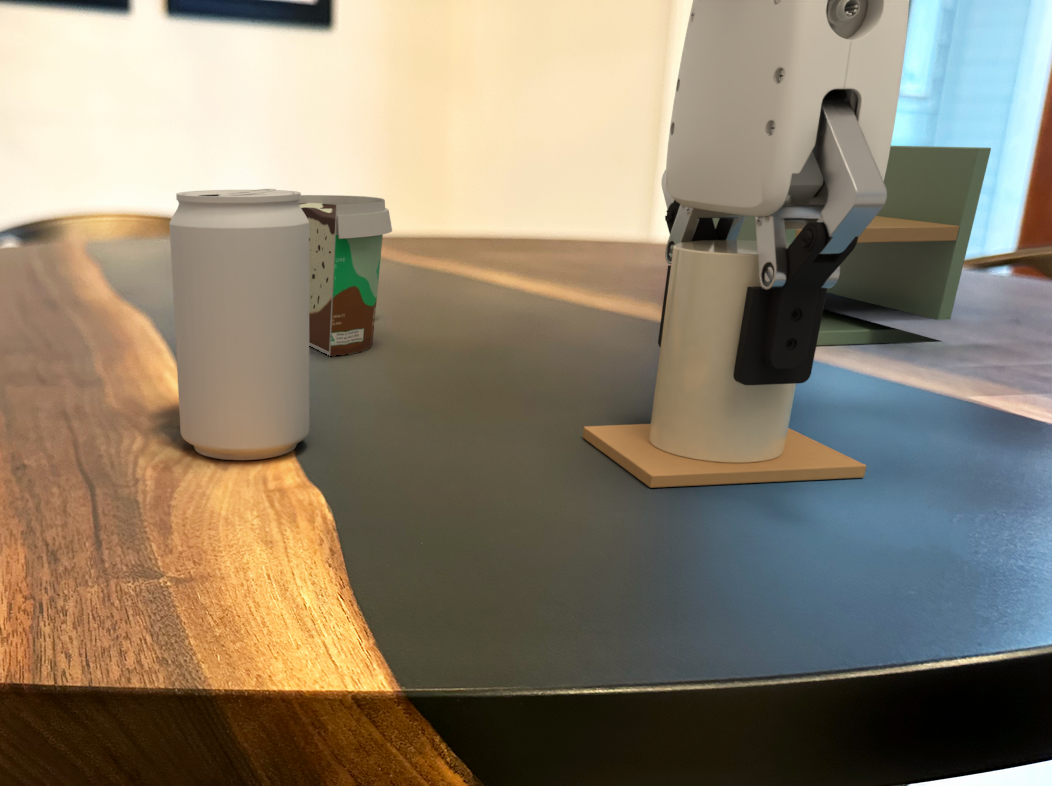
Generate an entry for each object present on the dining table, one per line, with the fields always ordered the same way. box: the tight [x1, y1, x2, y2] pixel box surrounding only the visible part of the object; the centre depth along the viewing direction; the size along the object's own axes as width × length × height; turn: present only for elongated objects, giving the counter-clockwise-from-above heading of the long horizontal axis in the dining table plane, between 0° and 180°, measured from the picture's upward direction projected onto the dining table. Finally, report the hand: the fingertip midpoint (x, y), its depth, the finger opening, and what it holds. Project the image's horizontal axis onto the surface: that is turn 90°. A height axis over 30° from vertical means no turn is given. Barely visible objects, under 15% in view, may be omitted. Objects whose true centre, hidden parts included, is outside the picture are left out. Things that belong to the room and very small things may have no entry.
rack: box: [712, 145, 992, 347], centre depth 76 cm, size 14×14×13 cm
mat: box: [582, 423, 867, 489], centre depth 48 cm, size 10×8×1 cm
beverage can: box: [168, 188, 310, 461], centre depth 48 cm, size 6×6×12 cm
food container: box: [299, 194, 393, 357], centre depth 73 cm, size 12×6×10 cm, turn 22°
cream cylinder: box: [649, 240, 797, 463], centre depth 46 cm, size 6×6×9 cm
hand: (728, 361), depth 46 cm, fingers open, 6 cm apart
